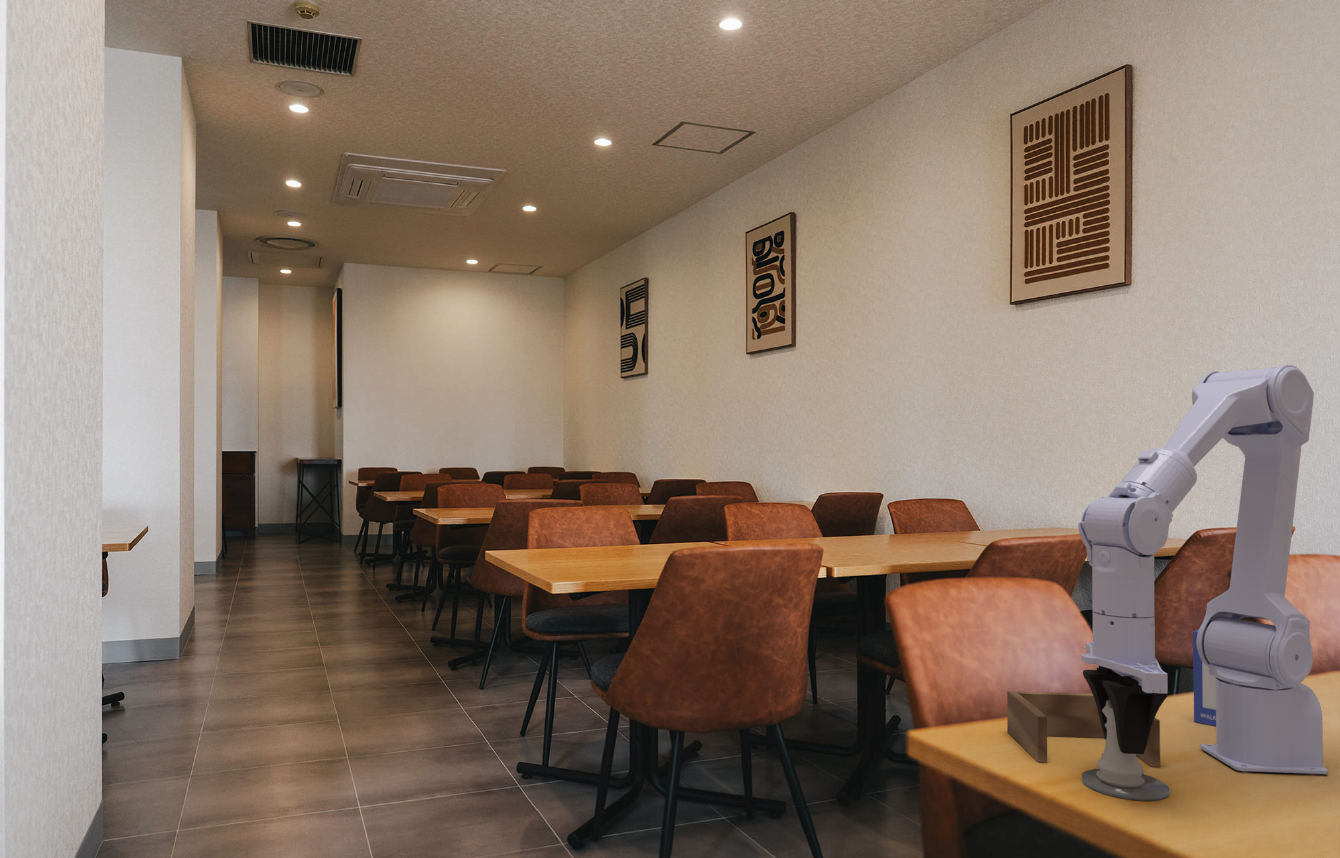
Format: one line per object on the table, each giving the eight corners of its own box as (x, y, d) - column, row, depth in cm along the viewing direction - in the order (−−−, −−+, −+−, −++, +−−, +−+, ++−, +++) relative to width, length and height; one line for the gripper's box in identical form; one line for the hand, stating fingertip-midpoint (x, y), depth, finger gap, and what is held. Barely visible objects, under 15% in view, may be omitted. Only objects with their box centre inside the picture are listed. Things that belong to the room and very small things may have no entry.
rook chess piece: (1149, 792, 88) (1149, 710, 88) (1100, 787, 89) (1100, 706, 89) (1139, 777, 92) (1138, 699, 92) (1092, 772, 93) (1091, 695, 93)
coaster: (1147, 773, 94) (1147, 770, 94) (1185, 802, 86) (1185, 798, 86) (1069, 770, 95) (1069, 767, 95) (1100, 799, 87) (1100, 794, 87)
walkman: (1193, 722, 114) (1192, 628, 114) (1200, 718, 116) (1199, 626, 116) (1265, 736, 108) (1264, 637, 108) (1271, 731, 110) (1269, 635, 110)
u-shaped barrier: (1117, 736, 107) (1116, 694, 107) (1160, 766, 96) (1159, 720, 96) (1007, 732, 108) (1007, 691, 108) (1037, 762, 97) (1037, 716, 97)
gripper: (1057, 601, 98) (1058, 724, 98) (1112, 625, 84) (1113, 769, 83) (1123, 603, 98) (1124, 727, 97) (1189, 627, 83) (1191, 772, 83)
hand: (1124, 747), depth 90 cm, fingers closed on rook chess piece, 3 cm apart
